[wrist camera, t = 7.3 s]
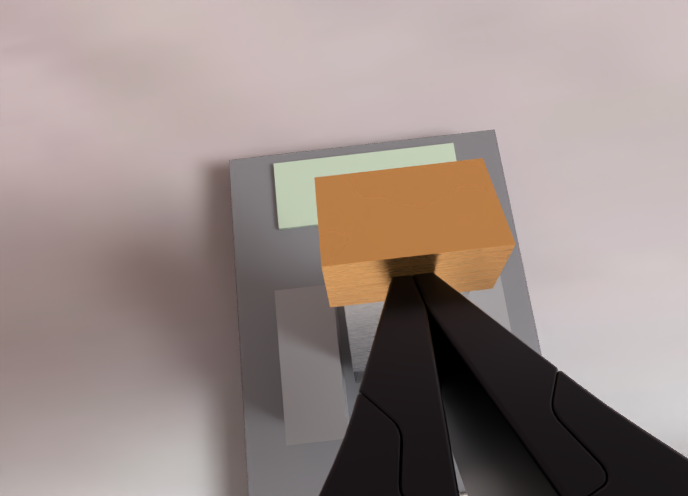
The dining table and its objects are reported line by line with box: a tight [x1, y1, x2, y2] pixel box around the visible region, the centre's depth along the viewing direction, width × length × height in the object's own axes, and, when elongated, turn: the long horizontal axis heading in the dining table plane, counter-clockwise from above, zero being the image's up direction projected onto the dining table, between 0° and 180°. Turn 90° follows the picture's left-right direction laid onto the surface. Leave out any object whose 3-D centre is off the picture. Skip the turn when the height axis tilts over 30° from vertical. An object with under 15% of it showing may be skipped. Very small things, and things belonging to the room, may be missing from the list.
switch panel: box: [229, 130, 542, 496], centre depth 16 cm, size 18×12×4 cm, turn 6°
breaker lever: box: [314, 158, 516, 384], centre depth 12 cm, size 2×4×10 cm, turn 96°
